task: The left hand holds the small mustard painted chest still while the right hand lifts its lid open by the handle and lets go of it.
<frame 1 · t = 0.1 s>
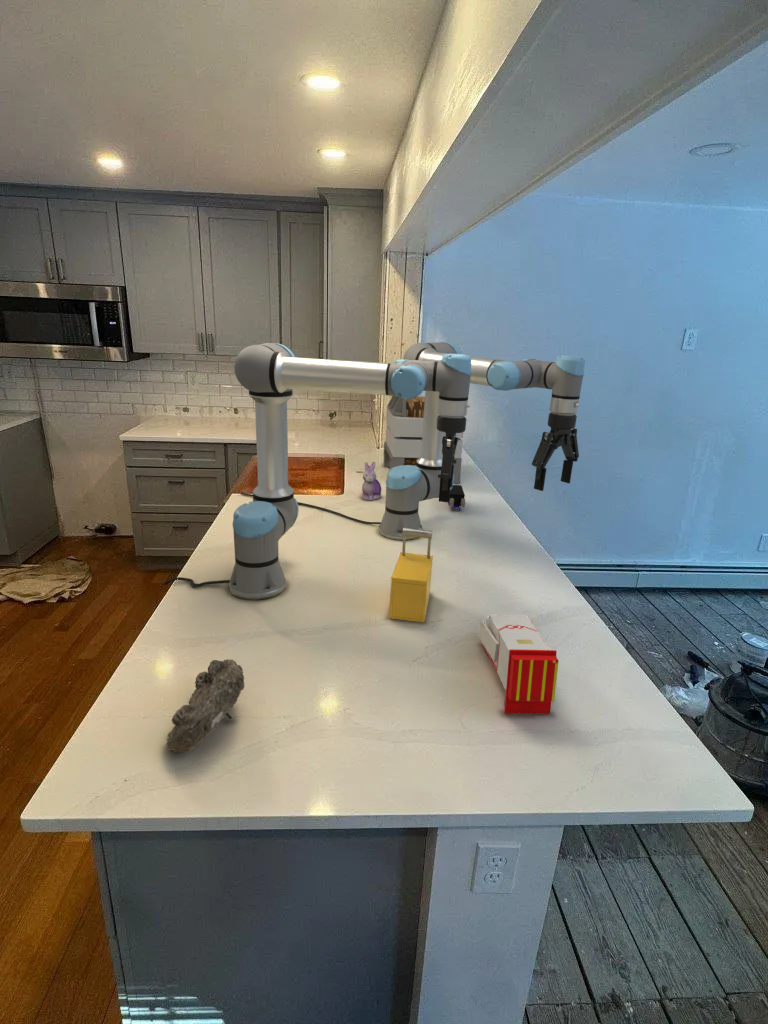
left hand: (445, 493, 154), 28 cm above the counter, tool pointing down, fingers open, 13 cm apart
right hand: (552, 485, 166), 28 cm above the counter, tool pointing down, fingers open, 13 cm apart
lid: (413, 554, 147), point 15 cm above the counter, hinge at 0.0°
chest: (410, 605, 152), on the counter
figurine: (371, 497, 237), on the counter
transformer: (419, 473, 275), on the counter
fossil: (212, 717, 108), on the counter
figurine character: (454, 506, 230), on the counter
toy: (510, 673, 125), on the counter
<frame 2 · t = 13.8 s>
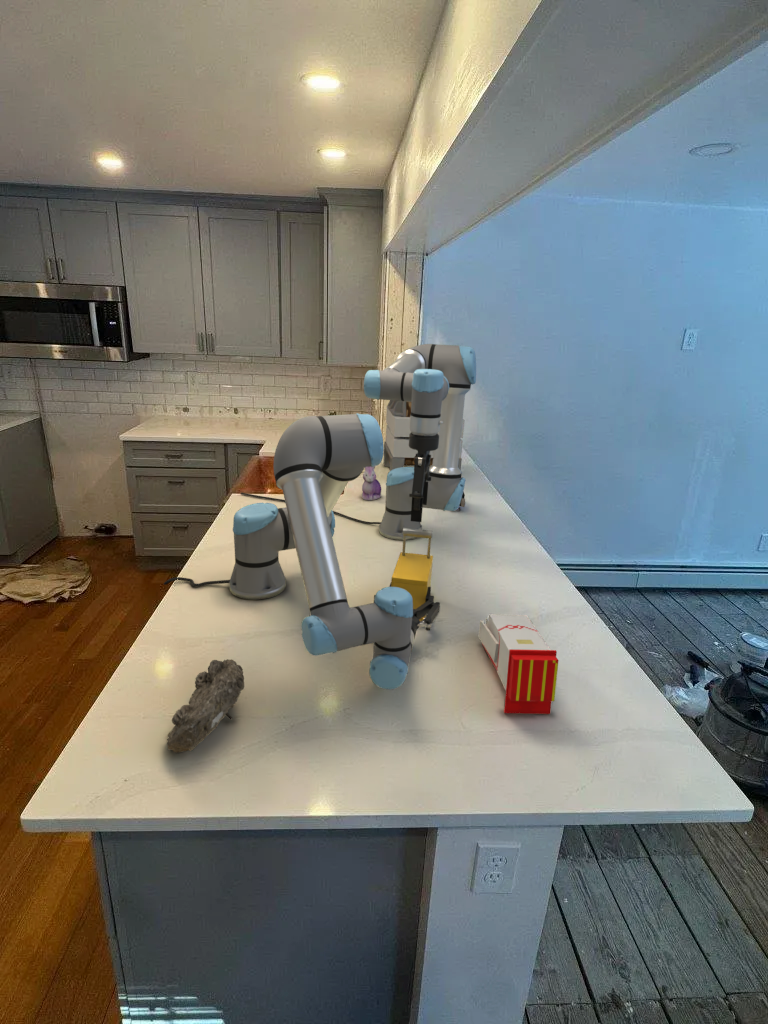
left hand: (410, 589, 147), 7 cm above the counter, tool horizontal, fingers closed on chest, 9 cm apart
right hand: (419, 512, 150), 24 cm above the counter, tool pointing down, fingers open, 13 cm apart
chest: (410, 605, 152), on the counter, touching left hand
everything else where it was.
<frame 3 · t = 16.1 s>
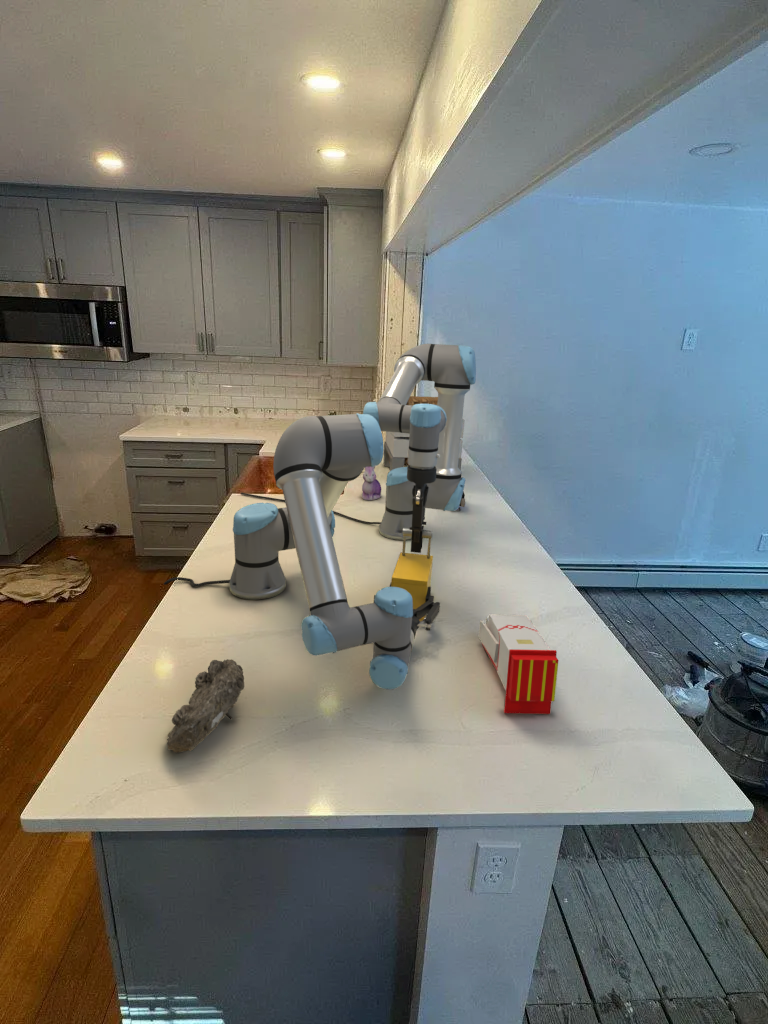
left hand: (410, 589, 147), 7 cm above the counter, tool horizontal, fingers closed on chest, 9 cm apart
right hand: (416, 549, 153), 14 cm above the counter, tool pointing down, fingers closed on lid, 2 cm apart
lid: (414, 554, 147), point 15 cm above the counter, hinge at -0.1°, touching right hand
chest: (410, 605, 152), on the counter, touching left hand
everything else where it was.
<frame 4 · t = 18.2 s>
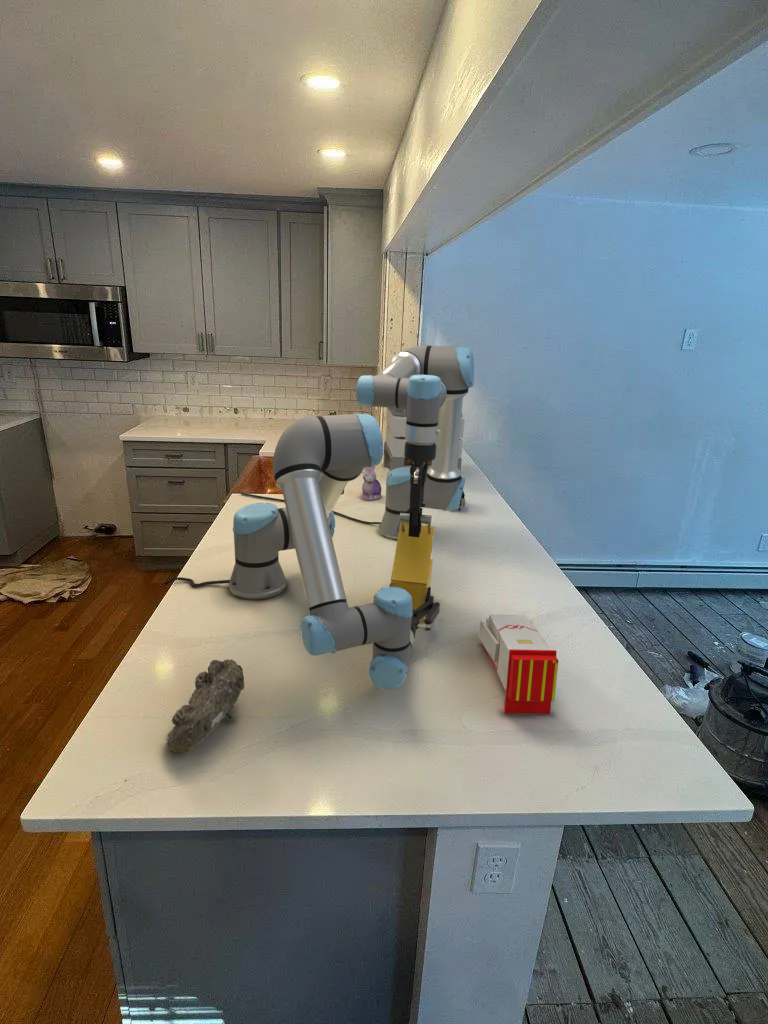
left hand: (410, 589, 146), 7 cm above the counter, tool horizontal, fingers closed on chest, 9 cm apart
right hand: (414, 534, 142), 22 cm above the counter, tool pointing down, fingers closed on lid, 2 cm apart
lid: (412, 546, 141), point 19 cm above the counter, hinge at 38.7°, touching right hand
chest: (410, 604, 152), on the counter, touching left hand
everything else where it was.
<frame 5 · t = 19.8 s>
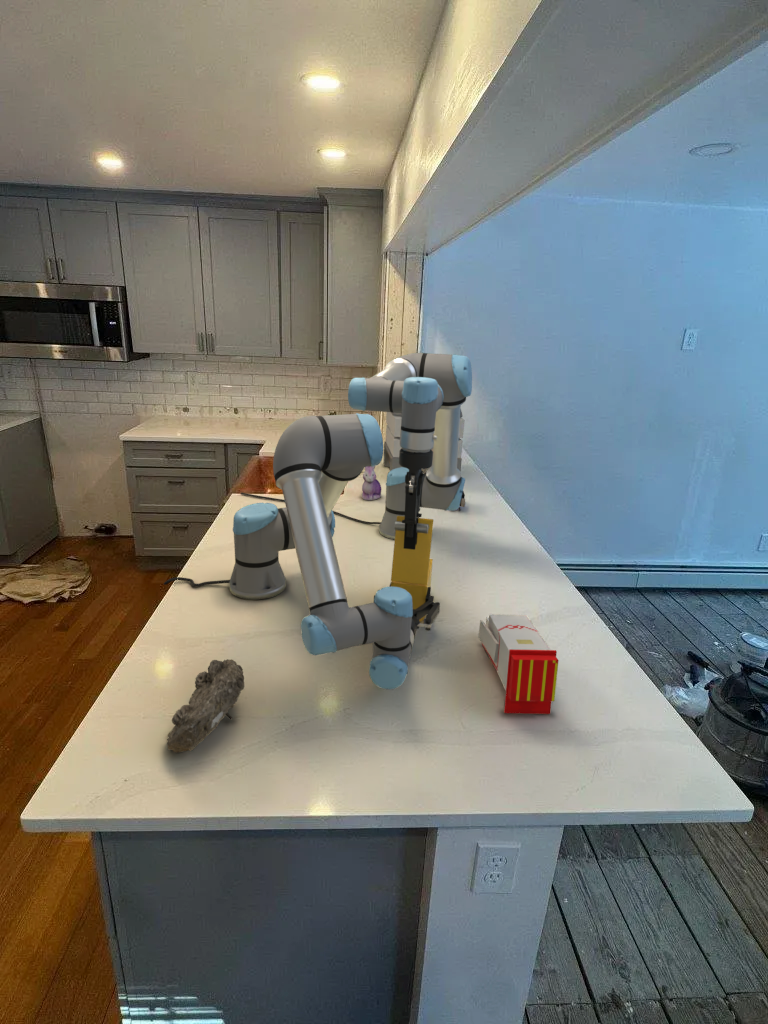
left hand: (410, 589, 146), 7 cm above the counter, tool horizontal, fingers closed on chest, 9 cm apart
right hand: (410, 545, 134), 22 cm above the counter, tool pointing down, fingers open, 2 cm apart
lid: (410, 551, 136), point 20 cm above the counter, hinge at 70.1°
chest: (410, 604, 152), on the counter, touching left hand
everything else where it was.
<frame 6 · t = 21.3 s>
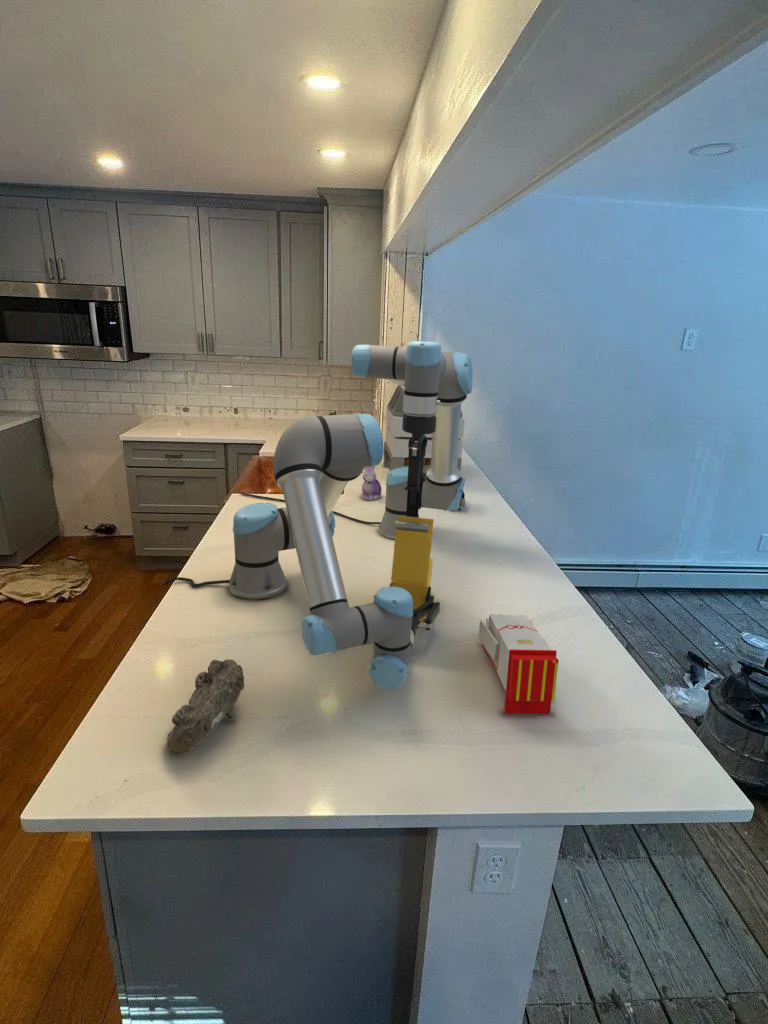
left hand: (410, 589, 147), 7 cm above the counter, tool horizontal, fingers closed on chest, 9 cm apart
right hand: (413, 511, 134), 30 cm above the counter, tool pointing down, fingers open, 5 cm apart
lid: (410, 551, 137), point 20 cm above the counter, hinge at 69.1°
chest: (410, 604, 152), on the counter, touching left hand
everything else where it was.
when the left hand's fingers open (7 cm above the counter, at t = 23.7 s): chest stays where it is, on the counter.
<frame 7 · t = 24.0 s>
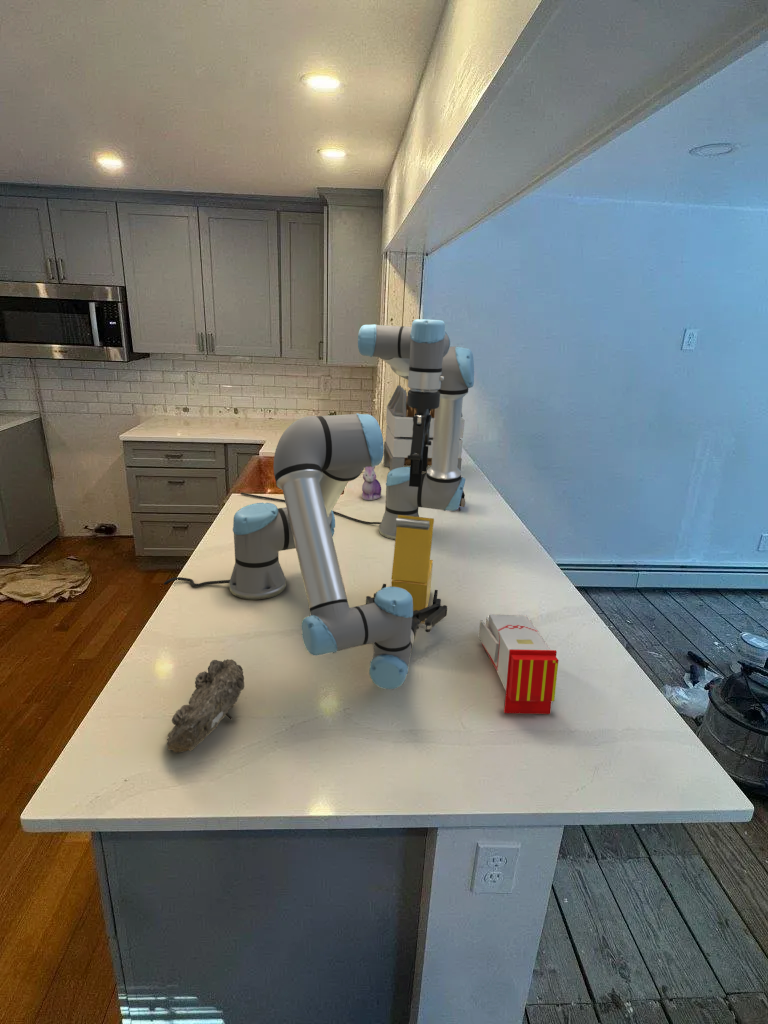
left hand: (410, 591, 146), 7 cm above the counter, tool horizontal, fingers open, 13 cm apart
right hand: (418, 478, 138), 36 cm above the counter, tool pointing down, fingers open, 13 cm apart
lid: (411, 549, 137), point 20 cm above the counter, hinge at 67.8°
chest: (410, 605, 152), on the counter
everything else where it was.
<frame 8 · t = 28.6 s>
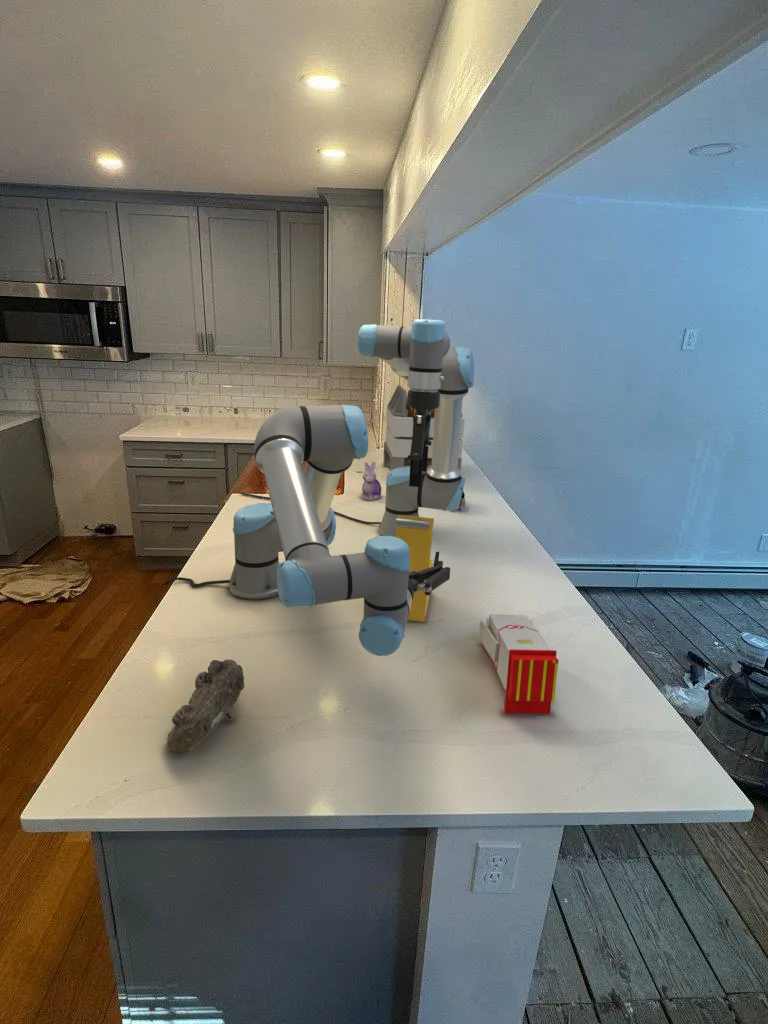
left hand: (407, 553, 129), 22 cm above the counter, tool horizontal, fingers open, 13 cm apart
right hand: (418, 478, 138), 36 cm above the counter, tool pointing down, fingers open, 13 cm apart
nothing on the counter moved.
at the end: lid at +68° (first picture: +0°); the left hand is holding nothing; the right hand is holding nothing; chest tilted 0°; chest never tilted more than 3° during the clip; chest moved 0.2 cm from its start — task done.
